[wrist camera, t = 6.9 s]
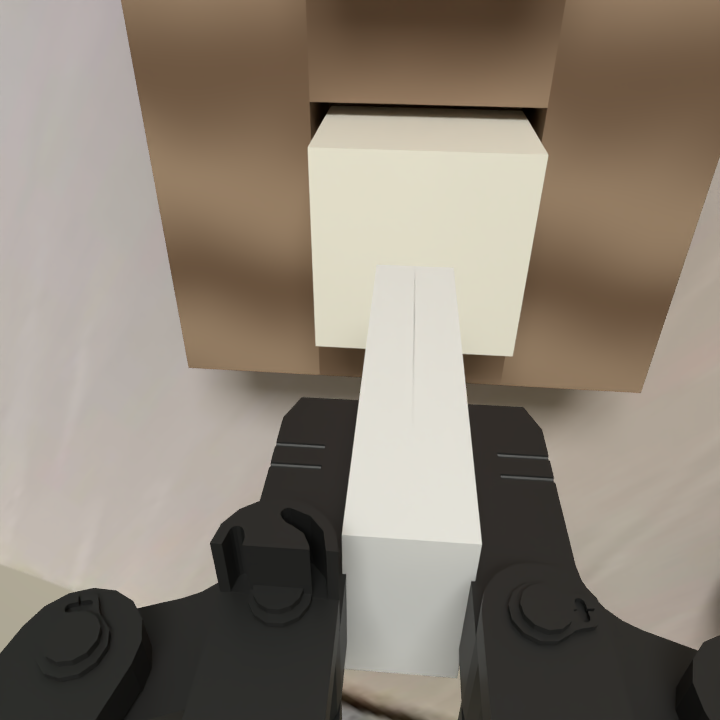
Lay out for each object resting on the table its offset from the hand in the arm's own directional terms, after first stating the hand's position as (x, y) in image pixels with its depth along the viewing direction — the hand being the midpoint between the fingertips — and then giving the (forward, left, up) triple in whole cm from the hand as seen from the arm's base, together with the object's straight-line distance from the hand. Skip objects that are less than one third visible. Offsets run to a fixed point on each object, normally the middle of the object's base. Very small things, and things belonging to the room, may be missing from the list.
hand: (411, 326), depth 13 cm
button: (0, 0, -8) cm, 8 cm away
